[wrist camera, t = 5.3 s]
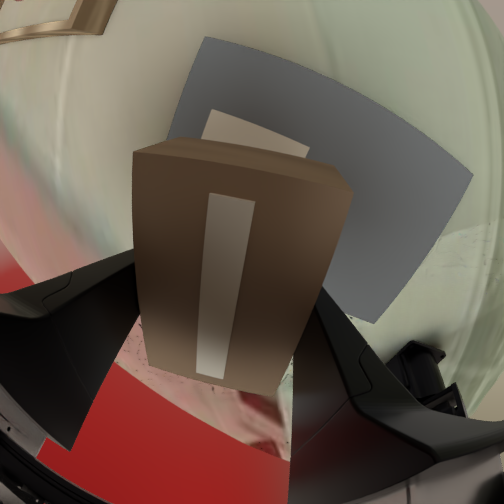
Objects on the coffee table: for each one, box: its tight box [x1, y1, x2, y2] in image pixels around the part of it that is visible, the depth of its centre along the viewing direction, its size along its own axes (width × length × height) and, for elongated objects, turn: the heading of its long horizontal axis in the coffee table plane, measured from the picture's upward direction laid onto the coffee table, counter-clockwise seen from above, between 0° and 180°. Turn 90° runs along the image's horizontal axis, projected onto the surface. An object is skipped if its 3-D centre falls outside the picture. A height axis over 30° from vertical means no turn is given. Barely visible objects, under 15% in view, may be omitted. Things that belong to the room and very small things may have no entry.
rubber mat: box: [167, 36, 473, 324], centre depth 19 cm, size 22×16×1 cm
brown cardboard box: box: [132, 137, 354, 397], centre depth 9 cm, size 8×5×3 cm, turn 170°
